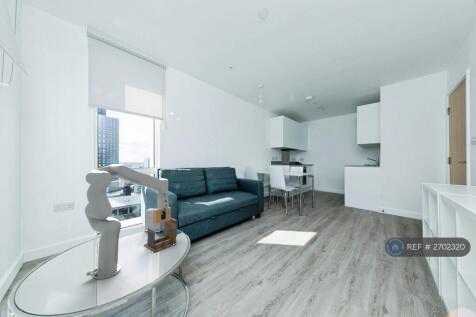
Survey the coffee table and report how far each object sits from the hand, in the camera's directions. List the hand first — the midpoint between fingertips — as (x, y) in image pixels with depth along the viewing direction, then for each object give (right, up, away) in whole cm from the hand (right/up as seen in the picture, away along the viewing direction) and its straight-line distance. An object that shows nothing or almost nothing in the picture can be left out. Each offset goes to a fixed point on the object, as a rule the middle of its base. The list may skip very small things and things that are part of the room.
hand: (161, 218), depth 137 cm
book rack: (-2, -22, +2) cm, 22 cm away
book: (0, -2, 0) cm, 2 cm away
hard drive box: (-19, -22, +29) cm, 41 cm away
